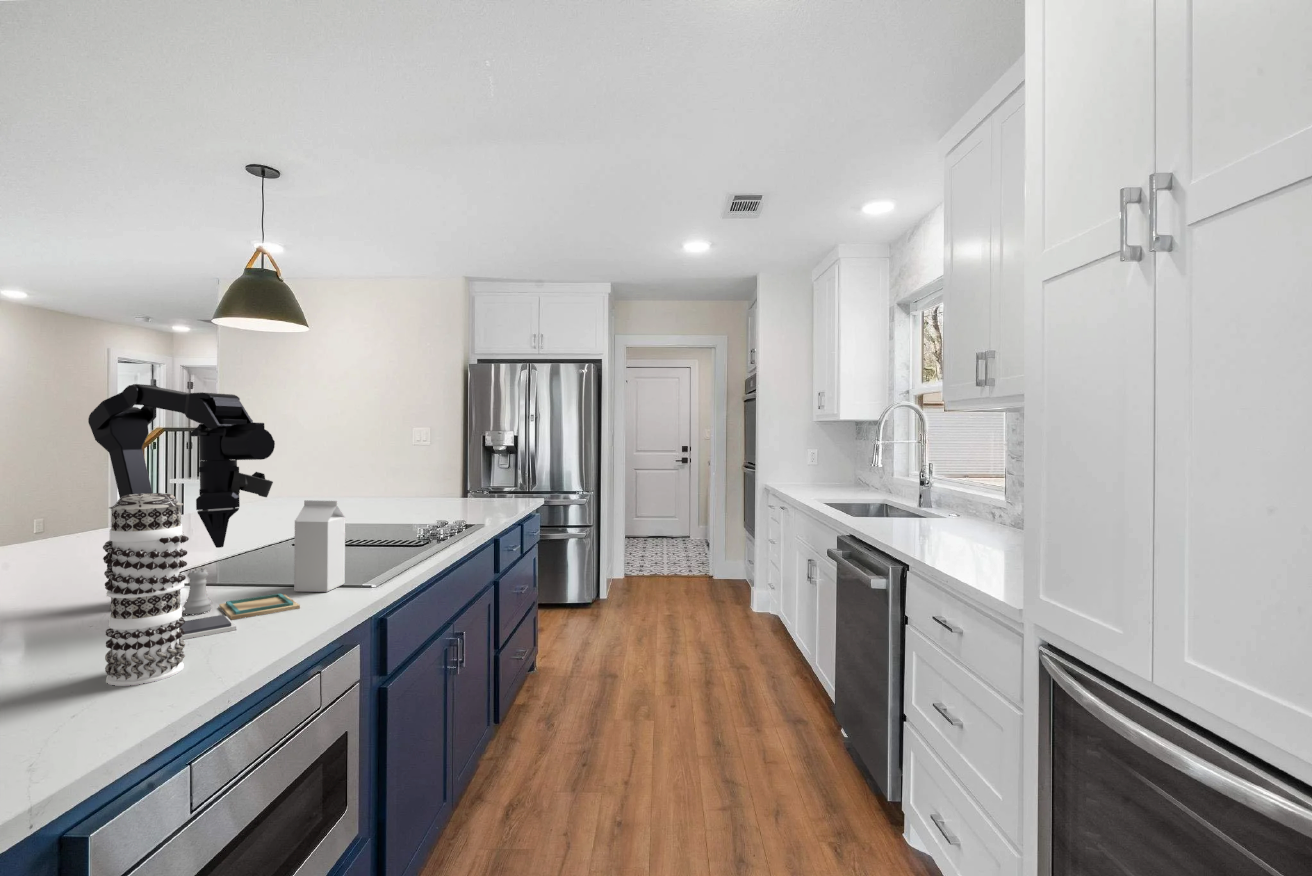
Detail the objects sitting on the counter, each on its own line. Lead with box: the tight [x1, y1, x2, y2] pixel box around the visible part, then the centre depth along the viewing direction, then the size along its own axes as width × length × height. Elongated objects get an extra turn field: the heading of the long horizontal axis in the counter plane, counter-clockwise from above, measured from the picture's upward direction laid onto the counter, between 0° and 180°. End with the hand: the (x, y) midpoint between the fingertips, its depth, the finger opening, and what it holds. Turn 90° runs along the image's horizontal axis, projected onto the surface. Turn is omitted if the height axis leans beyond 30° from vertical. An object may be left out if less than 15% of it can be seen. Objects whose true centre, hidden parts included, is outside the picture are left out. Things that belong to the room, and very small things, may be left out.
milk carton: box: [293, 500, 346, 593], centre depth 133 cm, size 7×7×19 cm
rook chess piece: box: [182, 567, 213, 616], centre depth 115 cm, size 4×4×8 cm
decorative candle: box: [102, 492, 190, 687], centre depth 86 cm, size 9×9×25 cm
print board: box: [218, 592, 301, 621], centre depth 118 cm, size 11×11×1 cm
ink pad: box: [180, 614, 237, 641], centre depth 105 cm, size 8×8×1 cm
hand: (220, 544), depth 115 cm, fingers open, 9 cm apart
